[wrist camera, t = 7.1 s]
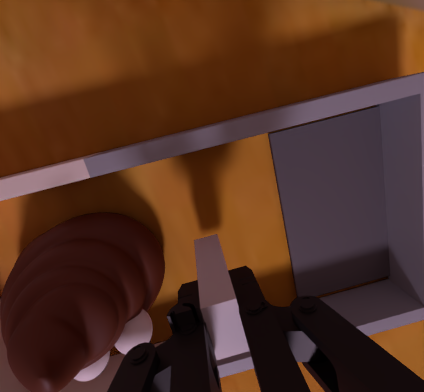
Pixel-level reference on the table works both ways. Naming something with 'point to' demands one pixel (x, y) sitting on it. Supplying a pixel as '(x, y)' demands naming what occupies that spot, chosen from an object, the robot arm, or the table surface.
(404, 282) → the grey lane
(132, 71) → the table surface
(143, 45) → the table surface
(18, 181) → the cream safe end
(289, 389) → the robot arm
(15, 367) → the poop emoji
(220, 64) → the table surface
